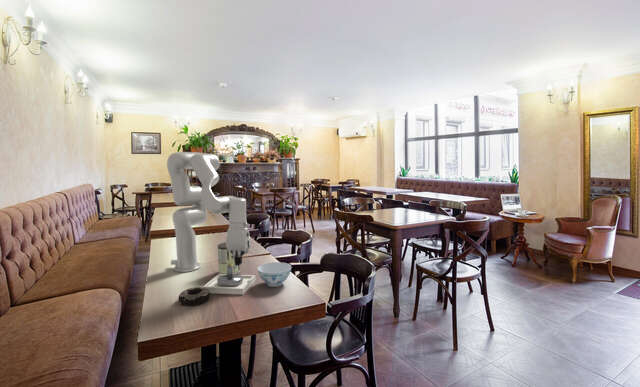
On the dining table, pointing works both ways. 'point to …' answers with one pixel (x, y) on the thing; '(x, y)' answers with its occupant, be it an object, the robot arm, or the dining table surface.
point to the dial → (230, 278)
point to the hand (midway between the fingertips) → (238, 264)
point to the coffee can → (226, 260)
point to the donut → (193, 296)
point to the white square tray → (239, 289)
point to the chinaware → (274, 273)
